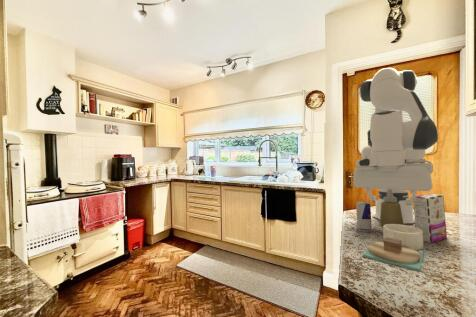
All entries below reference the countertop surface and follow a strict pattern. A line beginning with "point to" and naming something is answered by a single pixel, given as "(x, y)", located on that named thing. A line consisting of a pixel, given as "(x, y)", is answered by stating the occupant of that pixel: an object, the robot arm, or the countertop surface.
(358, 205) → the energy drink
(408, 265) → the rubber mat
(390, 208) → the squeeze bottle
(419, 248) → the ceramic bowl
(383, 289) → the countertop surface
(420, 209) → the candy bar box
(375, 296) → the countertop surface
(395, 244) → the oak lid
